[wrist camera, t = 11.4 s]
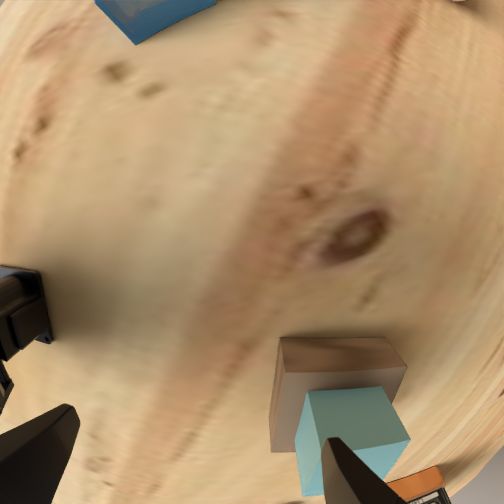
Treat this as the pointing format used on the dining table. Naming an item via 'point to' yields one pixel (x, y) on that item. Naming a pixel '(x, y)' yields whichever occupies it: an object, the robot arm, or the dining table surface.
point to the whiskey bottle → (422, 488)
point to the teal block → (348, 432)
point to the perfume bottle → (149, 14)
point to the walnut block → (326, 376)
